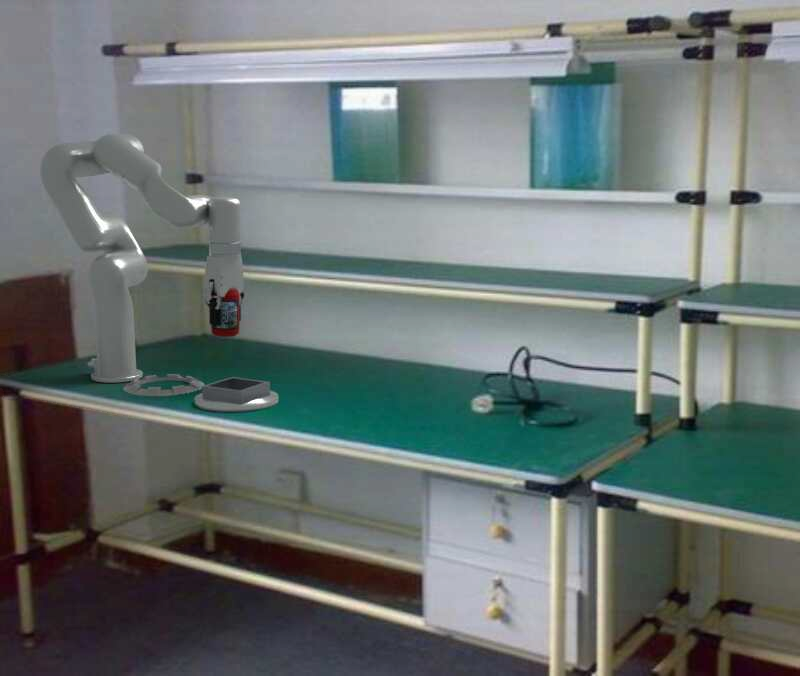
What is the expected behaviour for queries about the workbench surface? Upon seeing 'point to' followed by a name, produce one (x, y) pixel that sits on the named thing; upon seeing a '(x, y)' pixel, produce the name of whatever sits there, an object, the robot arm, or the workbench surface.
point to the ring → (156, 391)
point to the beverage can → (228, 315)
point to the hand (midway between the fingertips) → (225, 322)
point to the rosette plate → (236, 395)
